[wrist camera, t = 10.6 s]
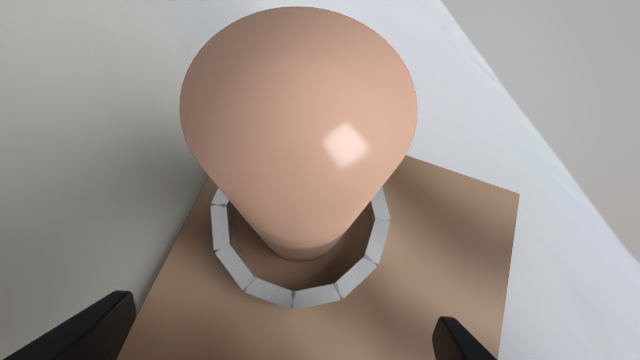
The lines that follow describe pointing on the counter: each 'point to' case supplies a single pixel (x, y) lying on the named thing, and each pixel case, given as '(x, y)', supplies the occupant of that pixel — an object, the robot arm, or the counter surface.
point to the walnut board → (362, 302)
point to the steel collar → (305, 297)
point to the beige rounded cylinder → (298, 122)
